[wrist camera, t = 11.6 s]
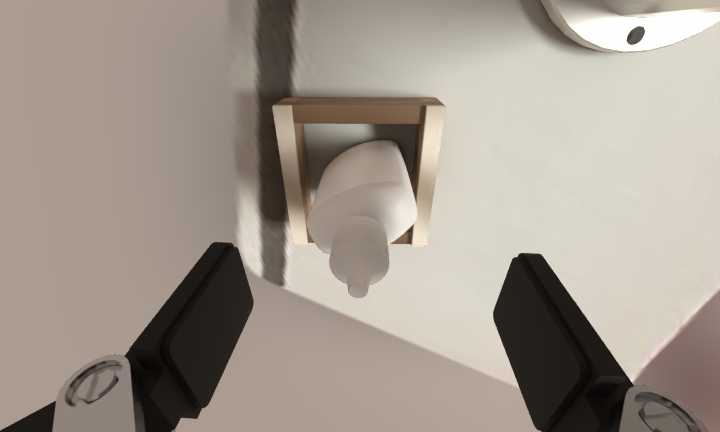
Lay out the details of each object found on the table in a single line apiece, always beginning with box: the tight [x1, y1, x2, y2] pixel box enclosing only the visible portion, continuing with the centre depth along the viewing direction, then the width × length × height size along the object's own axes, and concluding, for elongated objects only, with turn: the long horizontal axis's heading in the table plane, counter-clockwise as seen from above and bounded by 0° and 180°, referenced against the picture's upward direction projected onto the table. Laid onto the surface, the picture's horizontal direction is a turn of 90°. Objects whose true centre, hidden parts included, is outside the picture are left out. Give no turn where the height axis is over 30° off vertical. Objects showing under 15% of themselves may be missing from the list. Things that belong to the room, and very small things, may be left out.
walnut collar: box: [272, 98, 446, 247], centre depth 20 cm, size 10×10×3 cm
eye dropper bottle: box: [307, 140, 417, 298], centre depth 16 cm, size 4×6×12 cm
